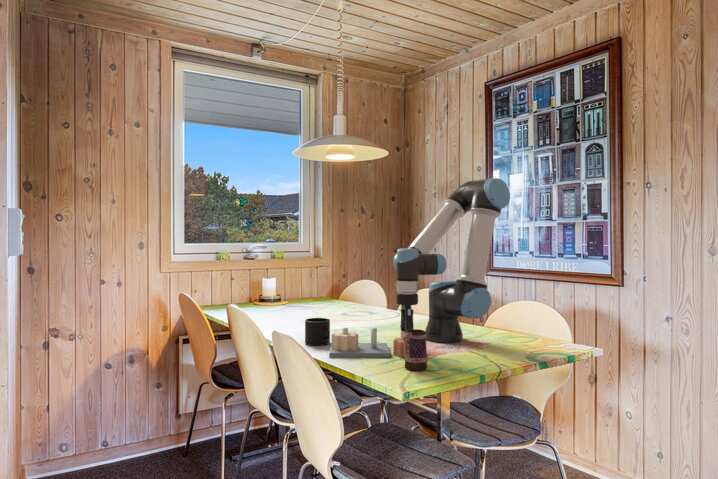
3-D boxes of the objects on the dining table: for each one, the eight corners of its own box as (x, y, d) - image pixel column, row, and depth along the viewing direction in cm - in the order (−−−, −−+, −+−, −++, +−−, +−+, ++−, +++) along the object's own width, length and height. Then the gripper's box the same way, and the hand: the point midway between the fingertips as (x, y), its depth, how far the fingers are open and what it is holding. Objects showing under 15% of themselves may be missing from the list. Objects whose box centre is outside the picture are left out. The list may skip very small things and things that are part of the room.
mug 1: (319, 348, 183) (319, 323, 183) (300, 343, 192) (300, 319, 192) (339, 344, 189) (339, 320, 189) (319, 339, 198) (319, 317, 198)
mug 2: (411, 364, 161) (411, 327, 160) (431, 367, 157) (431, 329, 156) (395, 371, 152) (395, 331, 152) (416, 375, 148) (416, 334, 148)
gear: (418, 351, 179) (418, 337, 179) (422, 357, 169) (422, 342, 169) (392, 351, 179) (392, 337, 179) (394, 357, 169) (394, 342, 169)
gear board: (386, 347, 186) (387, 324, 185) (390, 357, 170) (390, 332, 169) (331, 347, 185) (331, 324, 185) (329, 357, 169) (329, 332, 169)
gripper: (393, 289, 186) (392, 346, 186) (399, 297, 161) (399, 362, 161) (413, 289, 186) (413, 346, 187) (423, 297, 162) (422, 362, 162)
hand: (406, 354), depth 174 cm, fingers open, 13 cm apart
